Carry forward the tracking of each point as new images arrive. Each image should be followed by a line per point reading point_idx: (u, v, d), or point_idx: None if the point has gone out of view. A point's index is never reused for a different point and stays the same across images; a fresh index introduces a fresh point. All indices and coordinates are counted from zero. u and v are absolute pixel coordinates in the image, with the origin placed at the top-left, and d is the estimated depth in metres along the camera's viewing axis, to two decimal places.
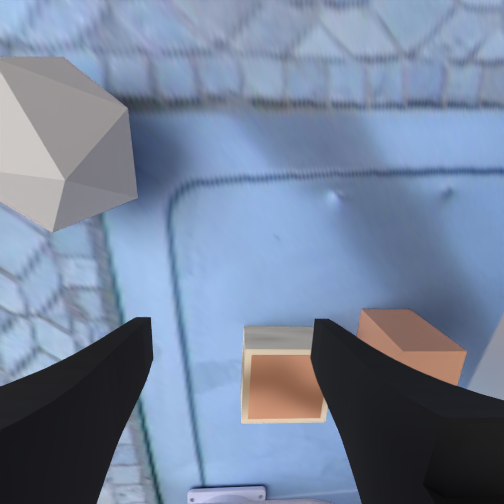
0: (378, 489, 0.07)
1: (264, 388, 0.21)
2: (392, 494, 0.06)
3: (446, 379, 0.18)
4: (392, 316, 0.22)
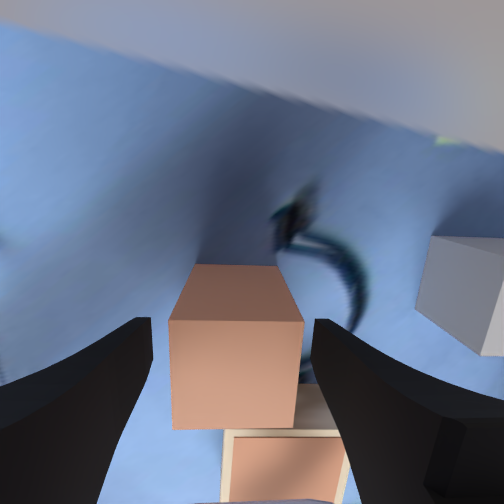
0: (378, 489, 0.07)
1: None
2: (391, 493, 0.06)
3: (236, 345, 0.09)
4: None
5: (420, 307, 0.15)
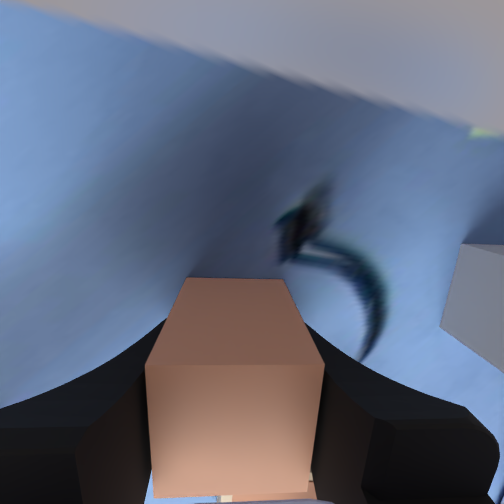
0: (329, 491, 0.07)
1: None
2: (338, 496, 0.06)
3: (235, 396, 0.07)
4: None
5: (447, 325, 0.13)
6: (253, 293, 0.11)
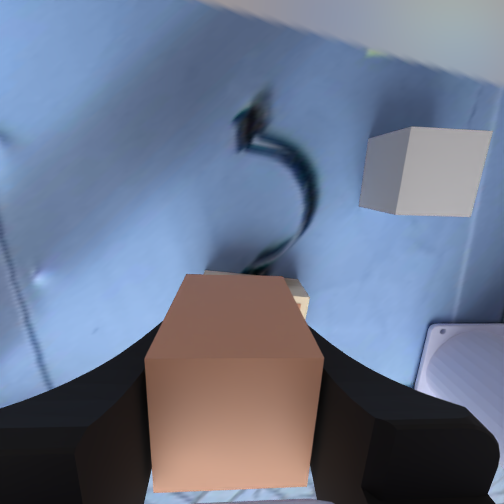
0: (329, 491, 0.07)
1: None
2: (338, 496, 0.06)
3: (235, 389, 0.07)
4: None
5: (362, 201, 0.18)
6: (253, 289, 0.11)
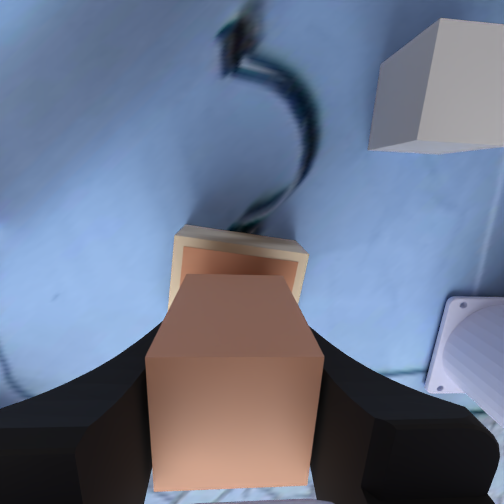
0: (329, 491, 0.07)
1: None
2: (338, 496, 0.06)
3: (235, 388, 0.07)
4: None
5: (371, 143, 0.15)
6: (253, 289, 0.11)
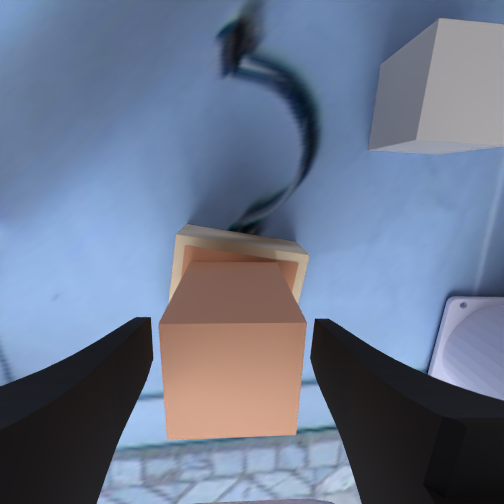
0: (378, 489, 0.07)
1: None
2: (391, 493, 0.06)
3: (233, 350, 0.08)
4: None
5: (371, 143, 0.15)
6: (249, 273, 0.12)
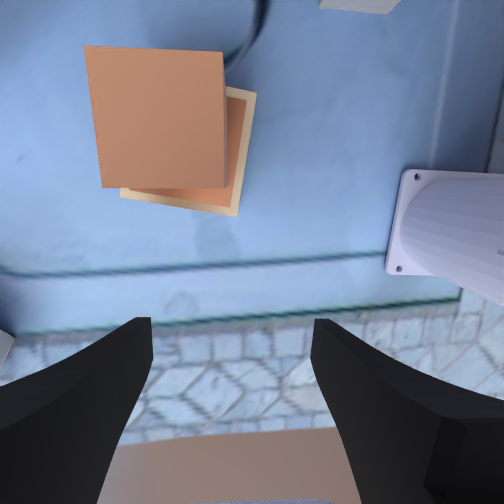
0: (378, 489, 0.07)
1: None
2: (391, 494, 0.06)
3: (156, 81, 0.09)
4: None
5: None
6: None
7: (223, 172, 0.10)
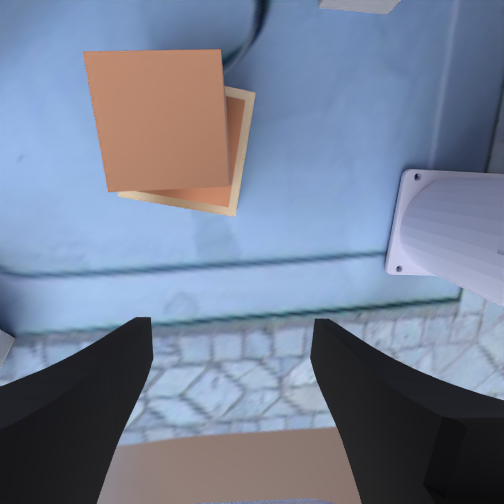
0: (378, 489, 0.07)
1: None
2: (391, 494, 0.06)
3: (156, 82, 0.09)
4: None
5: None
6: None
7: (227, 170, 0.10)
